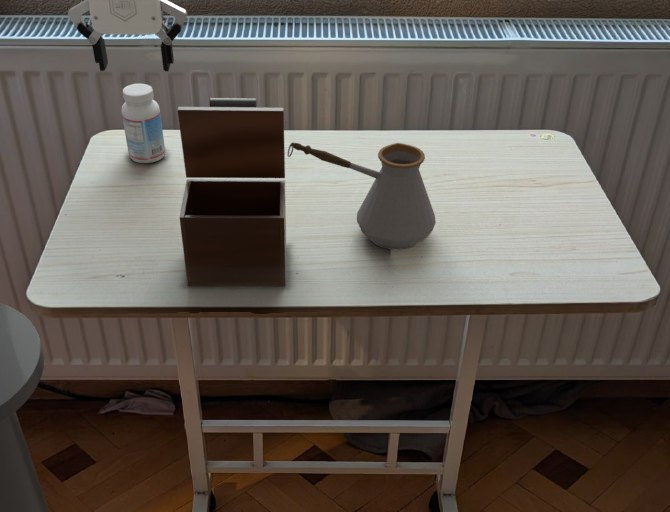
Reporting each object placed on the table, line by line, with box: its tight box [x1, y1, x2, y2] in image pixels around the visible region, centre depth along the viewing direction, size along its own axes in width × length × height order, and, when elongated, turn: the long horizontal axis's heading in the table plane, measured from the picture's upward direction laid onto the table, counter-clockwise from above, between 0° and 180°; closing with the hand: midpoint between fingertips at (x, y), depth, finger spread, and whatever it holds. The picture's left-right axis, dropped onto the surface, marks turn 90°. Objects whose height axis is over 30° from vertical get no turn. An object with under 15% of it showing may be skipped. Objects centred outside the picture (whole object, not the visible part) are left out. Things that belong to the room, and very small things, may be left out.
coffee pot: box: [287, 142, 437, 251], centre depth 117 cm, size 21×12×15 cm, turn 96°
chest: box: [179, 178, 287, 287], centre depth 112 cm, size 10×13×11 cm
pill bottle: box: [120, 83, 166, 164], centre depth 134 cm, size 6×6×11 cm
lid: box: [177, 97, 286, 179], centre depth 109 cm, size 10×13×5 cm
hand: (135, 67), depth 128 cm, fingers open, 9 cm apart
